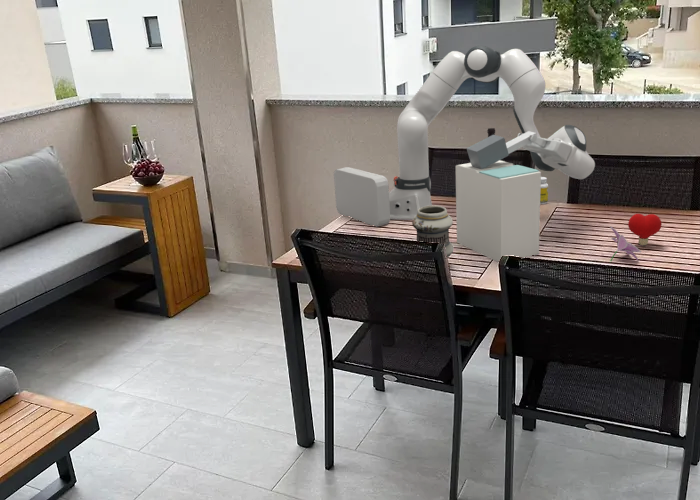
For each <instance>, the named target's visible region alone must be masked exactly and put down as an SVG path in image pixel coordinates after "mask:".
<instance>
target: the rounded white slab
mask: <svg viewBox="0 0 700 500" xmlns="http://www.w3.org/2000/svg"><path fill="white" fill-rule="evenodd" d="M333 182H334V194H335V208H336V211H337V213H338V214H339V215H342V216H344V215H345V216H344V217H346V216H350V217H352V218H354V219H353V220H355V219H357V220H356V221H358V220H359V221H358V222H360V221H362V222H361V223H363V222H365V223H364V224H366V223H367V224H366V225H369V224H370V225H369V226H371V225H374V226H376V227H381V226H385V225H388V224H389V223H390V221H391V219H390V206H389V192H390V189H389V181H388V178H387V177H386V176H384V175H382V174H377V173H373V172H369V171H365V170H362V169H357V168H355V167H354V168H353V167H349V166H345V167H341V168H337V169H334V172H333ZM352 218H351V219H352ZM374 226H373V227H374ZM376 227H375V228H376Z"/></svg>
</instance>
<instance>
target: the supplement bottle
mask: <svg viewBox="0 0 700 500" xmlns="http://www.w3.org/2000/svg"><path fill="white" fill-rule="evenodd" d="M547 180H548V178H547V177H545V176H541V191H540V205H546V204H548V202H549V184H548V183H547Z"/></svg>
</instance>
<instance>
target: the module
mask: <svg viewBox="0 0 700 500" xmlns="http://www.w3.org/2000/svg"><path fill="white" fill-rule="evenodd" d="M530 135H534V136H536V137H537V134H536V133H534V132H530V131H528V132H526V133H524V134H522V135H520V136H518V135H517V136H518V137H514V138H513V139H510V140H509V141H507V142H506V138H505V137H504V136H500V135H498V134H497V135H496V134H495V135H492V136H490V137H488V136H487V137H485V138H484V139H482V140H480V141H478V142H476V143H474V144H471V145H470V146H469V147H466V152H467V154H468V155H467V156H468V158H469V161H470V162H469V163H471V165H472V166H474V167H476V168H479V169H484V168H486V167H488V166H490V165H491V164H493V163H495V162H497V161H499V160H501V161H502V160H504V158H507V157H508V156H510V154H512V153H513V152H516V151H518V150H519V149H521V148H522V147H523V146H525V145H527V144H529V143H531V141H529V140H528V139H529V137H530Z"/></svg>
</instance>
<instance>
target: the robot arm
mask: <svg viewBox="0 0 700 500" xmlns="http://www.w3.org/2000/svg"><path fill="white" fill-rule="evenodd" d="M429 74H430V75H428V77H427V78H426V80H425V82H423V84H422V85H421V87H420V88H419V89H418V91H417V92H416V93H415V95H414V96H413V97H412V98H411V100H410V101H409V102H408V103H407V105H406V106H405V108H404V109H403V110H402V111H401V113H400V114H399V116H398V118H397V124H396V137H397V139H396V140H397V154H398V172H399V173H398V175H399V176H397V175H396V176H394V177H393V182H394V183H393V184H394V187H393V188H392V189H391V190H389V206H390V220H406V221H407V220H412V221H413V219H414V217H415V216H417V212H418V209H419V208H421V207H424V206H432V205H433V204H432V203H433V202H432V198H431V190H432V187H431V186H432V182H431V176H430V170H429V168H430V166H429V128H428V127H429V126H430V124H431V123H432V122H433V121H434V120H435V119H436V118H437V116H438V115H439V114H440V112H441V111H443V110H444V108H445V107H446V105H447V104H448V103H449V101H450V100H451V98H453V97H454V95H455V93H456V92H457V90H459V88H460V87H461V85H462V84H463V83H464V81H466V80H467V79H471V80H475V81H478V82H480V83H484V84H490V83H494V82H496V81H497V80H498V79H500V78H501V79H502V80H503V81H504V83H505V84H506V85H507V87H508V89H510V92H511V94H512V96H513V102H514V103H513V104H514V105H513V109H512V111H513V115H514V118H515V120H516V122H517V125H518V127H519V129H520V131H521V132H519V133H518V134H517V137H518V136H520V135H522V134H524V133H526V132H528V131H530V132H534V133H536V134H537V137H536V136H534V135H530V137H529V139H528V140H529V141H531V143H529V144H527V145H525V146H523V147H521V148H522V149H524V150H527V151H529V152H530V157H531V160H532V162H533V165H535V167H536V169H537V170H540V171H543V172H554V171H555V170H559V171H560V172H561V173H562V174H565V175H566V176H567V177H570V178H573V179H575V180H576V179H578V180H584V179H586V178H587V177H589V176H590V175H591V174H592V173H593V171H594V170H595V167H596V162H595V160H594V159H593V158H592V156H591V155H589V153H588V151H587V137H586V134H585V133H584V132H583V131H582V130H581V129H580V128H579V127H577V126H575V125H573V124H565V125H564V126H561V127H560V128H559V129H558V130H557V131H555V132H554V133H553V134H551V135H550V136H549V137H547V138H545V137H541V135H540V133H539V130H538V128H537V126H536V124H535V121H534V115H535V111H536V109H537V108H538V106H539V104H540V103H541V101H542V99H543V97H544V94H545V92H546V81H545V79H544V76H543V75H542V73H541V72H540V70H539V69H538V67H537V66H536V64H535V63H534V62H533V61H532V59H531V58H530V57H529V56H528V55H527V54H526V53H525V52H524V51H523V50H522V49H520V48H512V49H509V50H507V51H505V52H503V53H502V54H501V53H500V51H498V50H496V49H493V48H491V47H489V46H486V45H475V46H473V47H471V48H469V49H468V51H467V52H466V53H465V54H464V53H463V52H460V51H458V50H452V51H450V52H448V53H447V54H446V55H445V56H444V57H443V58H442V59H441V60H440V61H439V62H438V64H437V65H436V66H435V67H434V68H433V70H432V71H431V73H429Z"/></svg>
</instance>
